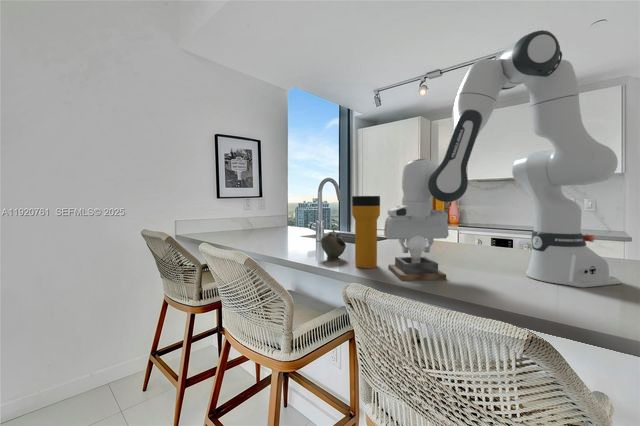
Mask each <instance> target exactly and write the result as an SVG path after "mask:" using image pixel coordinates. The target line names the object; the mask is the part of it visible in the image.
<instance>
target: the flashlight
mask: <svg viewBox="0 0 640 426" xmlns="http://www.w3.org/2000/svg"><path fill="white" fill-rule="evenodd" d="M351 215H352V218H353V219H354V222H355V224H354V229H355V230H354V233H355V235H354V237H355V239H354V243H355V244H354V246H355V247H354V248H355V249H354V250H355V251H354V252H355V255H354V256H355V259H354V261H355V263H354V264H355V267H358V268H363V269H373V268H375V267H377V266H378V220H379V217H380V215H381V196H380V195H368V194H364V195H353V196H352V197H351Z"/></svg>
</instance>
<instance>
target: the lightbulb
mask: <svg viewBox="0 0 640 426" xmlns="http://www.w3.org/2000/svg"><path fill="white" fill-rule="evenodd" d="M426 245H427V239H425V238H424V237H422V236H414V237H412V238H411V239H405V247H408V252H409V254H410V257H412V263H420V257H422V254H423V253H424V251H423V250H424V249H425V247H426Z"/></svg>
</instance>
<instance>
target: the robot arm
mask: <svg viewBox="0 0 640 426" xmlns="http://www.w3.org/2000/svg"><path fill="white" fill-rule="evenodd" d="M562 57H563V52H562V50H561V46H560V42H559V40H558V38H557V37H556V35H554V34H553V33H552V32H550V31H549V30H536V31H533V32H531V33H528V34H525V35H524V36H522V37H521V38H520V39H519V40H517V41H516V42H514V43H513V44H511V45H509V46H508V47H507V48H506V49H505V50H504V51H502V53H501V54H500V55H498V56H497V57H496V58H495V59H489V58H484V59H479V60H477V61H475V62H474V63H473V64H471V65H470V67H469V69H468V70H467V72H466V74H465V76H464V78H463V80H462V82H461V83H460V85H459V86H460V87H459V88H458V91H457V93H456V97H455V98H454V99H455V100H454V103H453V108H452V112H451V124H452V132H451V137H450V140H449V143H448V145H447V148H446V151H445V154H444V157H443V159H442V161H441V162H440V165H439V164H436V163H434V162H432V161H430V160H429V158H419V159H413V160H411V161H408V162H407V163H406V164H405V165H404V167H403V171H402V178H401V179H402V180H401V184H402V185H401V189H402V193H403V195H402V198H401V199H402V200H401V204H400V205H397V206H394V207H392V208H389V209H387V215H388V216H387V218H386V219H385V221H384V230H383V235H384V237H385V239H388V240H398V243H399V245H400V246H401V248H402V249H401V251H402V253H403V254H408V253H409V250H408V247H407V246H406V239H411V238H412V237H414V236H422V237H424V238H425V239H426V247H425V249H424V250H423V253H431V247H432V245H433V244H434V239H438V240H439V239H441V240H442V239H447V238H448V237H449V232H450V231H449V224H448V220H449V215H448V213H447V211H445V210H444V209H432V207H431V206H432V202H431V201H432V198H434V199H436V200H438V201H440V202H442V203H450V202H451V203H452V202H455V201H457V200H459V199H461V198H462V197H463V196H464V194H465V193H466V192H467V188H468V184H469V183H468V173H467V169H468V164H469V161H470V157H471V155H472V152H473V148H474V146H475V142H476V140H477V137H478V136H479V135H480V133H481V131H482V130H483V129H484V127H485V126H486V125H487V123H488V122H489V119H490V117H491V116H492V114H493V112H494V110H495V108H496V107H495V106H496V104H497V102H498V98H499V95H500V93H501V91H503V90H510V89H513V88H515V87H518V86H519V85H520V86H521V85H522V84H523V85H524V86H525V88H526V89H527V90H528V94H529V106H530V107H529V108H530V119H531V120H530V121H531V129H532V131H533V133H534V134H535V136H538V137H540V138H544V139H547V140H548V141H549V142H550V143H551V145H552V147H553V149H548V150H541V151H534V152H532V153H528V154H525V155H522V156H520V157H517V159H515V161H514V162H513V165H512V169H511V174H512V177H513V179H514V181H515V182H516V183H517V184H518V185H519V186H521V187H523V189H524V190H525V191H526V192H527V194H528V196H529V198H530V201H531V203H532V206H533V207H532V208H533V230H532V231H531V246H532V250H531V255H530V260H529V264H528V268H527V269H526V272H525V275H526V276H527V277H529V278H531V279H535V280H537V281H542V282H546V283H551V284H553V283H554V284H561V285H566V286H570V287H571V286H572V287H575V288H576V287H577V288H591V287H600V286H610V285H611V286H612V285H620V284H621V280H620V279H619V278H617V277H614V276H611V275H610V270H609V269H610V268H609V263H608V261H607V260H606V259H605V258H603V257H602V256H601V255H599V254H598V253H596V252H595V251H594V250H592V249H591V248H589V247H588V246H587V243H586V242H589V243H593V242H594V241H595V240H596V236H595V235H593V234H583V233H582V232H581V231H582V229H581V228H582V212H583V211H582V208H581V206H580V205H579V203H577V202H576V201H574V200H572V199H570V198H568V197H566V195H565V194H564V193H563V190H562V187H564V186H585V185H586V186H587V185H592V184H598V183H603V182H606V181H608V180H609V179H611V177H612V176H613V175H614V174H615V172H616V170H617V168H618V165H619V162H618V156H617V155H616V153H615V151H614V150H613V149H612V148H611V147H610V146H608V145H605V144H603V143H601V142H599V141H597V140H596V139H595V138H593V137H592V136H591V135H590V133H588V131H587V129H586V128H585V125H584V123H583V119H582V115H581V107H580V105H581V104H580V97H579V87H578V81H577V76H576V73H575V72H576V71H575V69H574V66H573V64H572V62H571V61H569V60H566V59H563V58H562Z"/></svg>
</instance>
